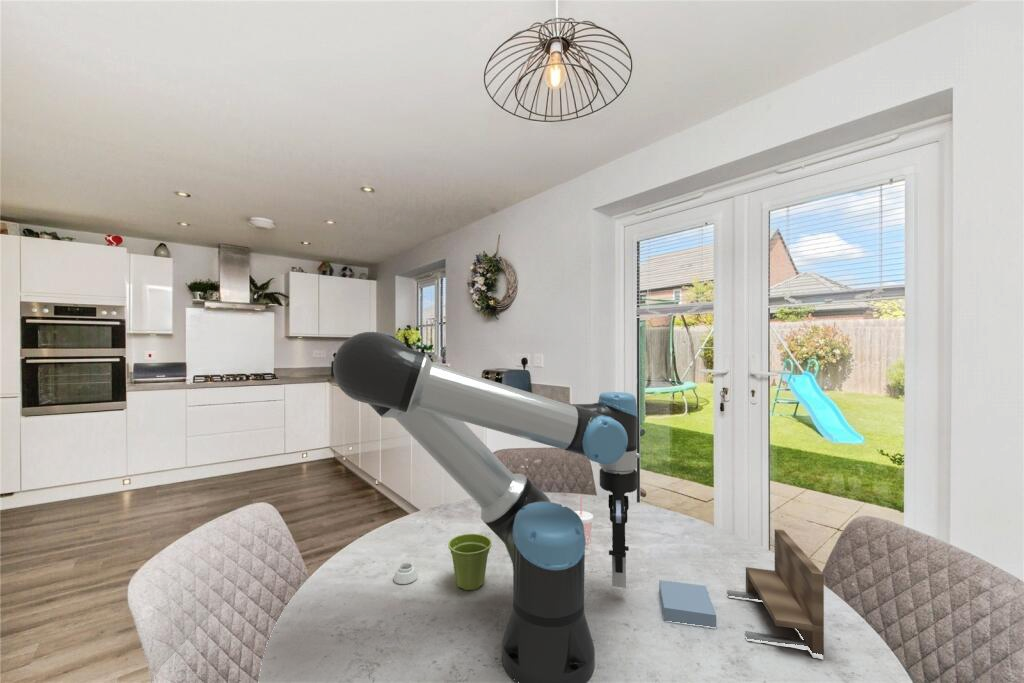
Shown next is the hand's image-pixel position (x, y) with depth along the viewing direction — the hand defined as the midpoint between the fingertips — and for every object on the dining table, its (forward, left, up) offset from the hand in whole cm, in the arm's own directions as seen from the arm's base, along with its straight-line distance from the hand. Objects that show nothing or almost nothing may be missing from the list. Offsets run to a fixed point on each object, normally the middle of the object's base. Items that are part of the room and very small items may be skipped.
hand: (619, 585), depth 88 cm
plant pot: (-2, +31, -3) cm, 32 cm away
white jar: (-4, +45, -3) cm, 46 cm away
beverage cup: (+19, +9, -3) cm, 21 cm away
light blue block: (0, -13, -3) cm, 13 cm away
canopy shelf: (0, -27, -3) cm, 27 cm away
